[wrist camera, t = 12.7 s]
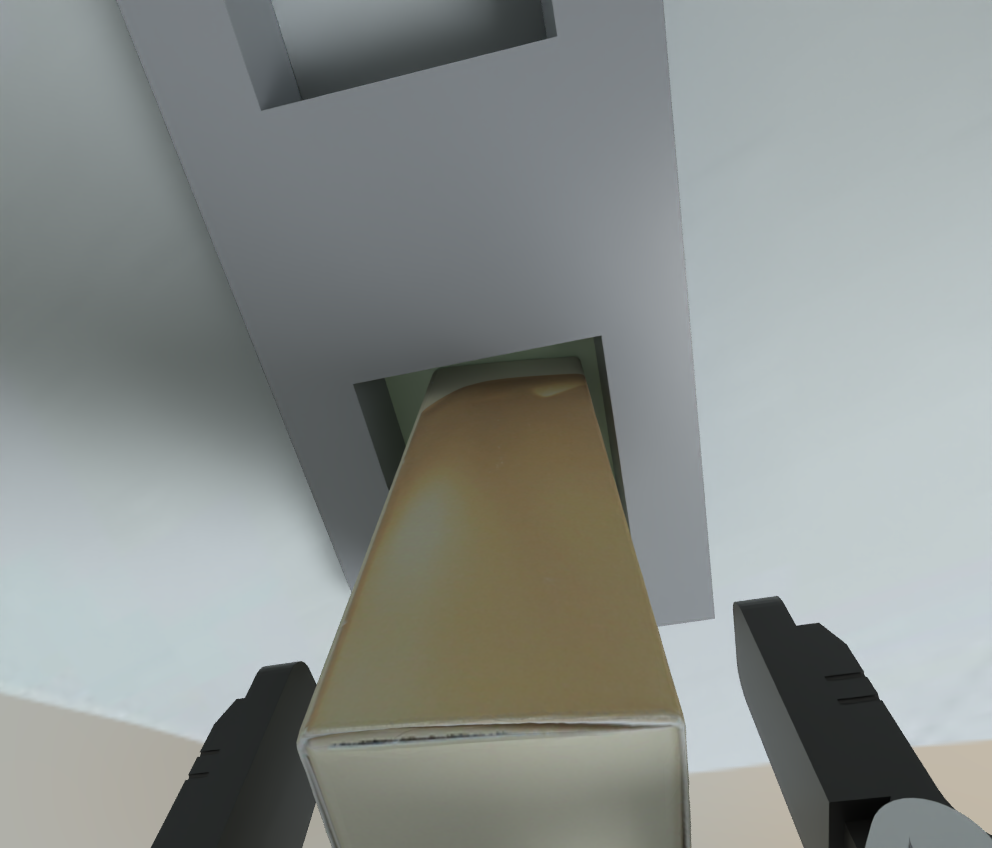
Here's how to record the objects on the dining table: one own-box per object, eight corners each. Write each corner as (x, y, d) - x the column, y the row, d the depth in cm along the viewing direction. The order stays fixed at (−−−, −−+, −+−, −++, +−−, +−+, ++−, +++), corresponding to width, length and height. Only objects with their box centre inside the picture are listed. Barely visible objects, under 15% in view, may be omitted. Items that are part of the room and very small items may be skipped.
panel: (572, -580, 10) (594, -827, 8) (688, 553, 20) (715, 618, 18) (42, -388, 12) (-101, -543, 9) (397, 598, 22) (380, 665, 19)
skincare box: (593, 533, 20) (694, 1039, 9) (459, 544, 20) (394, 1046, 9) (581, 341, 17) (706, 727, 6) (426, 357, 17) (279, 752, 6)
